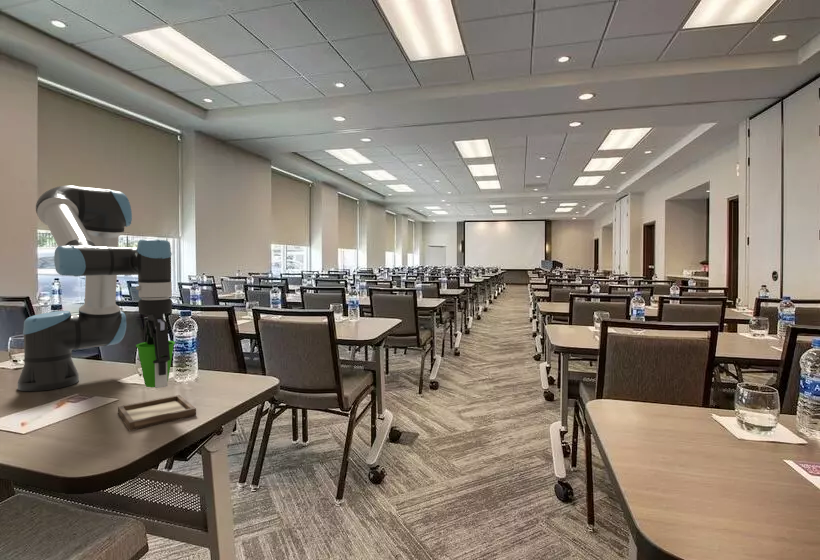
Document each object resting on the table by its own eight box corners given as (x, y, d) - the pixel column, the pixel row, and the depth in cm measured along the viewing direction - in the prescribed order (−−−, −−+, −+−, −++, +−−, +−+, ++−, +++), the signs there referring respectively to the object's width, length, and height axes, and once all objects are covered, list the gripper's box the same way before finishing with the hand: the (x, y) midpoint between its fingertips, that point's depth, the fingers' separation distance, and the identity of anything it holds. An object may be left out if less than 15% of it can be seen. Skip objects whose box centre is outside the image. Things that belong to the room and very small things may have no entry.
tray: (117, 413, 114) (117, 406, 114) (179, 401, 124) (179, 394, 124) (129, 430, 103) (129, 422, 103) (196, 415, 114) (196, 408, 113)
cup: (158, 390, 108) (157, 347, 107) (127, 388, 110) (126, 346, 109) (183, 381, 117) (183, 341, 116) (155, 378, 119) (154, 339, 118)
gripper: (129, 296, 118) (131, 376, 119) (148, 302, 102) (150, 395, 103) (160, 294, 123) (161, 372, 124) (183, 300, 107) (184, 389, 108)
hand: (156, 382), depth 113 cm, fingers closed on cup, 9 cm apart
